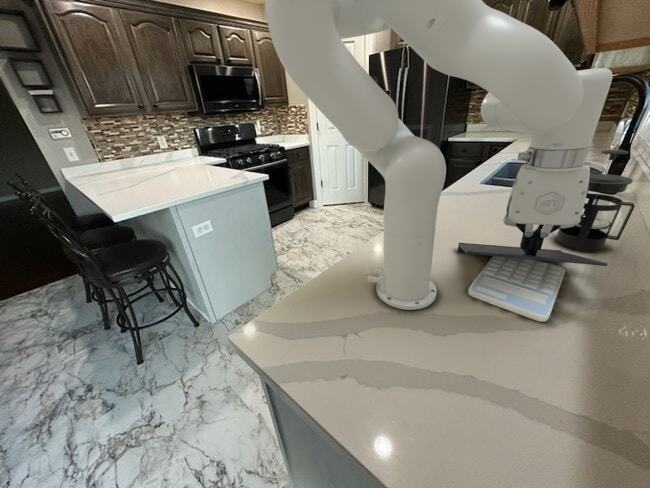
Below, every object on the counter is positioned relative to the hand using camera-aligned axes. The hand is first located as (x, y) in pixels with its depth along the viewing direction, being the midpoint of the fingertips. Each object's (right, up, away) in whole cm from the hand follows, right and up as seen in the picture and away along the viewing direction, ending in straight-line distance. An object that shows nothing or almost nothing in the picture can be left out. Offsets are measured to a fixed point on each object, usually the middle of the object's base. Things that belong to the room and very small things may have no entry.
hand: (528, 252), depth 52 cm
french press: (+25, +1, +15) cm, 29 cm away
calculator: (0, -7, +4) cm, 8 cm away
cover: (+1, -1, +5) cm, 5 cm away
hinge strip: (+4, -2, +13) cm, 14 cm away
